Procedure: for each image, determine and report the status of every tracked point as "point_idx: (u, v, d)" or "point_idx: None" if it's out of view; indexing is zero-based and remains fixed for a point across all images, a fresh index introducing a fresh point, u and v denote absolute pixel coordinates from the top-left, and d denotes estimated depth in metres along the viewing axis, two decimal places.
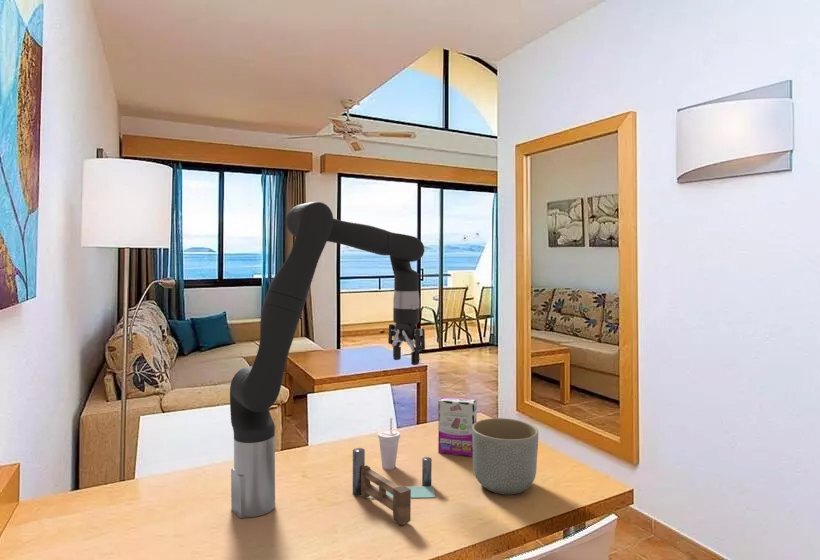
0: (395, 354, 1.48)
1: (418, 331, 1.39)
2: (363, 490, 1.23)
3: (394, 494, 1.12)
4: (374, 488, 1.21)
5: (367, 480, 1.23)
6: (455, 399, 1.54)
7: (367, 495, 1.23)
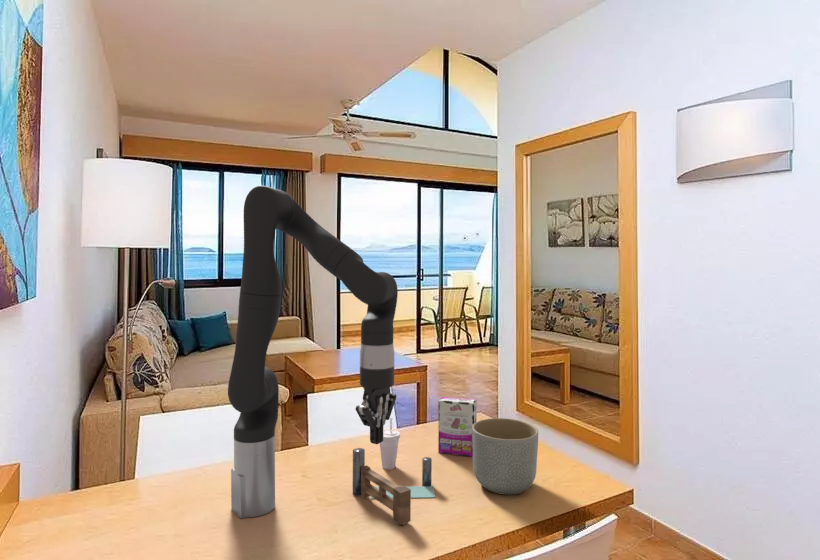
0: None
1: None
2: (363, 490, 1.23)
3: (394, 494, 1.12)
4: (374, 488, 1.21)
5: (367, 480, 1.23)
6: (455, 399, 1.54)
7: (367, 495, 1.23)
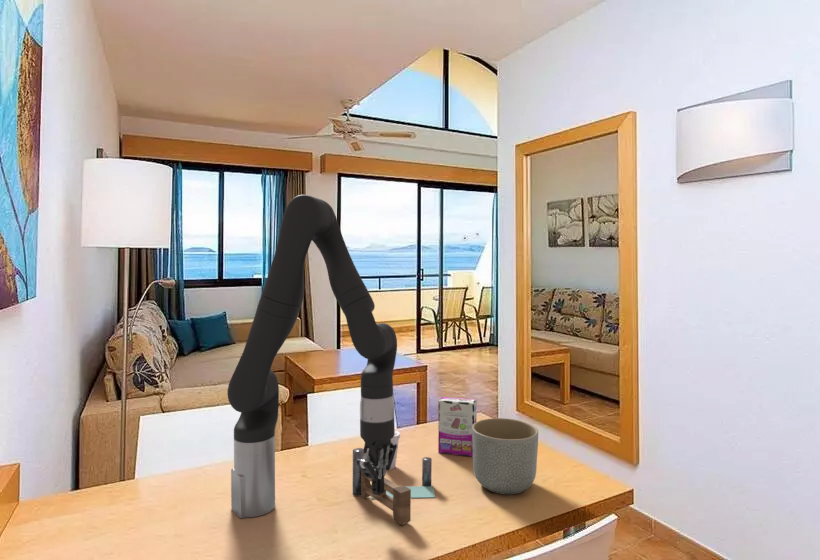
0: None
1: None
2: (363, 490, 1.23)
3: (394, 494, 1.12)
4: None
5: (367, 480, 1.23)
6: (455, 399, 1.54)
7: (367, 495, 1.23)
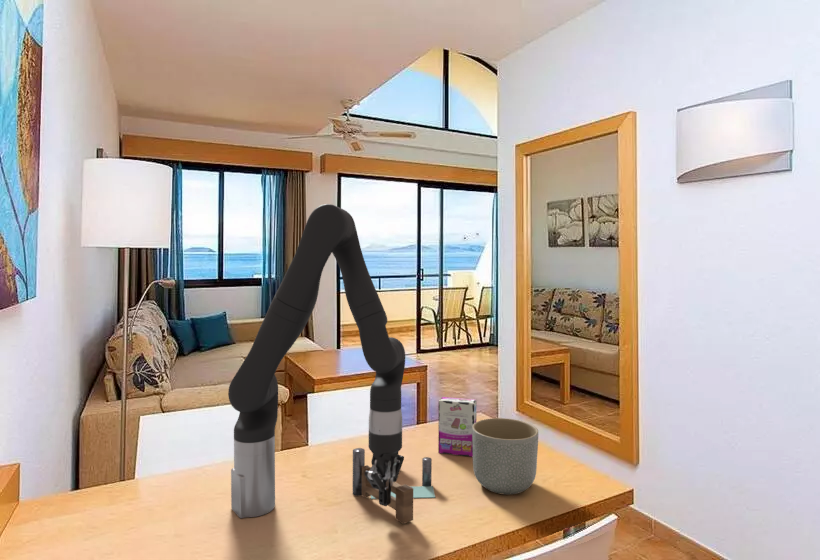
0: None
1: None
2: (364, 489, 1.23)
3: (397, 493, 1.12)
4: None
5: None
6: (455, 399, 1.54)
7: (368, 495, 1.23)
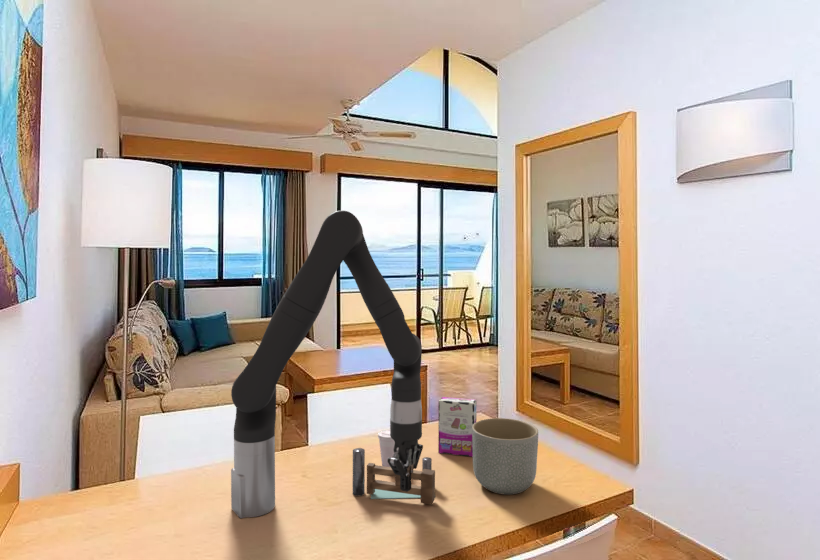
0: None
1: None
2: (370, 487, 1.25)
3: (423, 478, 1.20)
4: (384, 482, 1.25)
5: (373, 476, 1.25)
6: (455, 399, 1.54)
7: (373, 491, 1.25)
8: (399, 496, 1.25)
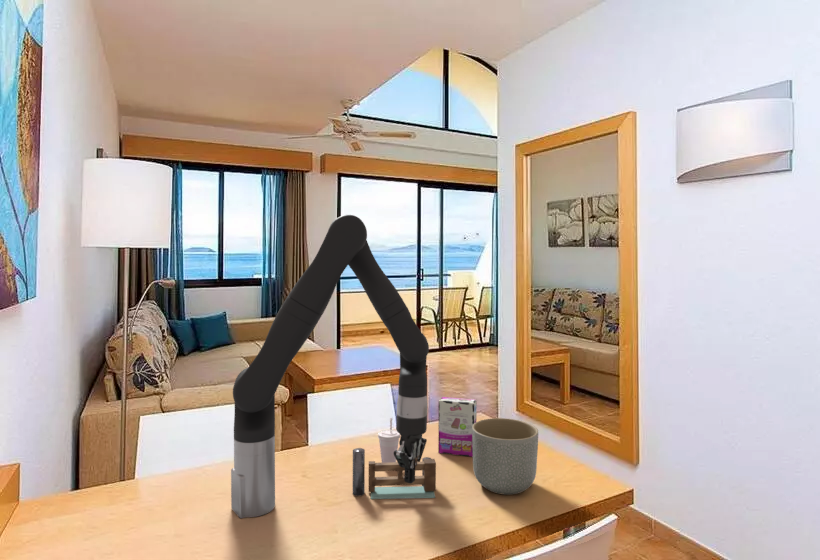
0: None
1: None
2: (372, 485, 1.26)
3: (426, 468, 1.26)
4: (385, 477, 1.27)
5: (374, 474, 1.27)
6: (455, 399, 1.54)
7: (374, 488, 1.27)
8: (399, 496, 1.25)
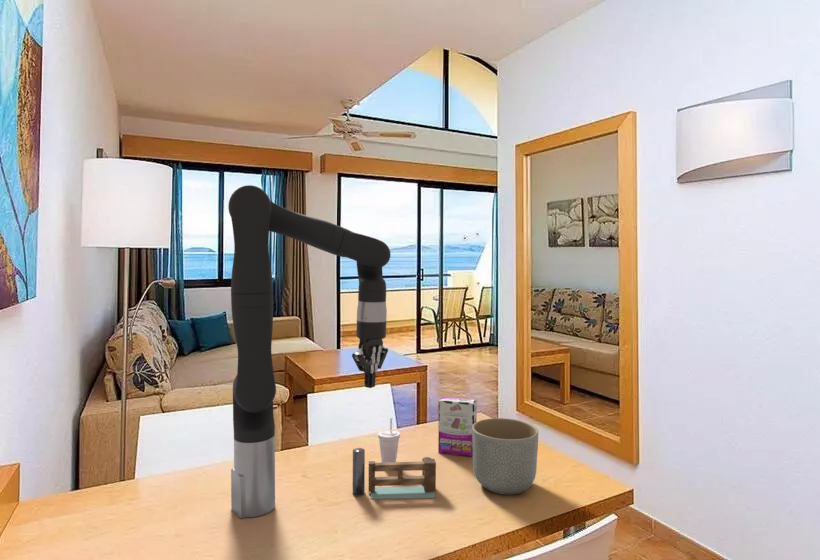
0: None
1: None
2: (372, 485, 1.26)
3: (426, 467, 1.26)
4: (385, 477, 1.27)
5: (374, 474, 1.27)
6: (455, 399, 1.54)
7: (374, 488, 1.27)
8: (399, 496, 1.25)
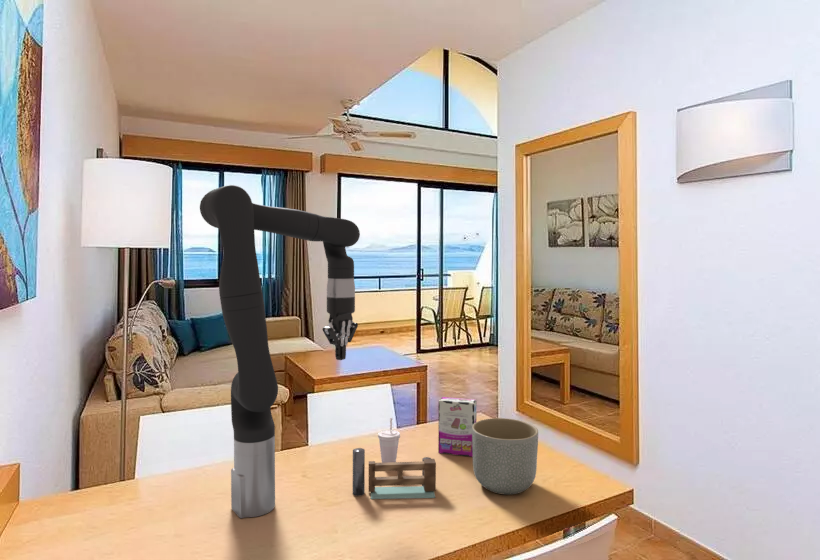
0: None
1: None
2: (372, 485, 1.26)
3: (426, 467, 1.26)
4: (385, 477, 1.27)
5: (374, 474, 1.27)
6: (455, 399, 1.54)
7: (374, 488, 1.27)
8: (399, 496, 1.25)
